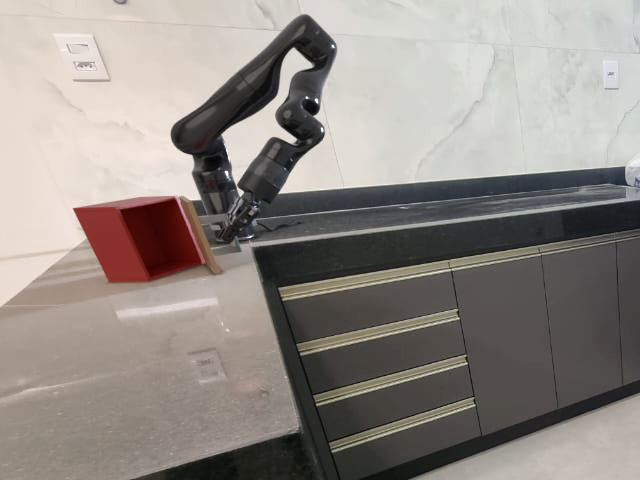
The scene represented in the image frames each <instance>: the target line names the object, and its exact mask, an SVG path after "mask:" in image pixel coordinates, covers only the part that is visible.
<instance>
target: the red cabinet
mask: <svg viewBox="0 0 640 480" xmlns="http://www.w3.org/2000/svg"><path fill="white" fill-rule="evenodd" d="M72 210H73V213H74V214H75V217H76V219H77V221H78V222H79V225H80V226H81V228H82V231H83V232H84V235H85V237H86V238H87V240H88V243H89V245H90V248H91V249H92V251H93V254H94V255H95V257H96V259H97V261H98V263H99V265H100V267H101V269H102V271H103V273H104V275H105V277H106V279H107V281H108V283H138V282H139V283H142V282H144V283H145V282H151V281H155V280H157V279H161V278H164V277H167V276H170V275H173V274H177V273H179V272H183V271H186V270H188V269H192V268H195V267H198V266H201V265H204V264H206V263H205V261H204V258H203V256H202V253H201V251H200V248H199V246H198V244H197V241H196V239H195V236H194V234H193V231H192V229H191V226H190V225H189V221H188V219H187V216H186V214H185V212H184V209H183V207H182V204H181V202H180V199H179V195H157V196H156V195H155V196H154V195H153V196H138V197H130V198H125V199H119V200H113V201H108V202H101V203H95V204H89V205H83V206H77V207H76V206H75V207H72Z"/></svg>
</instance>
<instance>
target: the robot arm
mask: <svg viewBox="0 0 640 480" xmlns="http://www.w3.org/2000/svg"><path fill="white" fill-rule="evenodd" d="M293 49H294V50H296V52H297V53H299V54H300V55H301V56H302V57H303V58H304V59H305V60H306V61H307V62H308V63H310V64H311V67H309V68H304V69H301V70H298V71H297V72H296V73H294V74H293V76H292V77H291V78H290V82H289V87H288V93H287V96H286V97H285V100H284V101H283V102H282V104H280V106H278V108H277V109H276V111H275V114H274V116H275V121H276V123H277V124H278V125H279V127H280V128H281V129H283V130H284V131H285V132H287V133H288V134H289V135H291V136H292V137H293V138H295V139H296V140H295V141H294V142H292V143H291V142H289V141H287V140H285V139H282V138H280V137H277V136H272V137H270V138H269V139H268V140H267V141H266V142H265V144H264V146H263V147H262V149H261V150H260V152H259V153H258V154H257V156H256V157H255V158H253V160H252V161H251V162H250V164H249V166H248V167H247V169H245V171H244V173H243V174H242V175H241V178H240V179H239V180H238V181H237V183H236V181H235V179H234V175H233V165H232V160H231V158H230V155H229V151H228V148H227V144H226V142H225V139H224V136H223V135H222V134H224V133H225V132H226V131H227V130H228V129H230V128H232V127H234V125H237V124H238V123H241V122H242V121H245V120H246V119H249V118H250V117H252V116H255V115H256V114H257V113H259V112H261V111H262V110H263V109H264V108H265V107H266V106H268V105H269V104H270V103H271V102H272V101H274V100H275V99H276V97H277V96H278V94H279V91H280V84H281V76H282V68H283V63H284V61H285V59H286V57H287V55H288V54H289V52H291V50H293ZM337 54H338V45H337V42H336V41H335V40H334V38H333V37H332V36H331V35H330V34H329V33H328V32H327V31H326V30H325V29H324V28H323V27H322V26H321V25H320V24H319V23H318V22H317V20H315V19H314V17H312V16H311V15H310V14H307V13H302V14H299V15H297V16H296V17H295V18H293V19H292V20H290V21H289V23H288V24H287V25H286V26H285V27H284V28H283V29H282V30H280V32H279V33H278V34H277V35H276V36H275V38H273V40H272V41H270V43H269V44H268V45H267V46H266V47H265V48H264V49H262V51H260V52H259V53H258V54H256V56H255V57H253V58H252V59H251V60H250V61H249V62H247V63H246V64H244V65H243V66H242V67H241V68H240V69H239V70H238V71H236V72H235V73H234V74H233V75H232V76H231V77H229V79H228V80H226V82H224V84H222V85H220V87H219V88H217V90H216V91H215V92H213V94H212V95H211V96H210V97H209V98H208V99H206V101H204V102H203V103H202V104H201V105H200V106H198V107H197V108H196V109H194V110H192V111H191V112H190V113H187V114H186V115H185V116H184V117H182V118H180V119H179V120H177V121H176V122H174V124H173V125H172V127H171V129H170V133H169V134H170V135H169V137H170V140H171V142H172V144H173V146H174V148H176V149H177V150H178V151H179V152H181V153H183V154H186V155H189V156H191V157H192V159H193V168H192V170H191V177H192V180H193V183H194V185H195V187H196V190H197V192H198V195H199V197H200V200H201V203H202V205H203V208H204V210H205V212H206V215H214V214H221V213H228V215H229V217H230V220H231V221H230V222H229V225H228V226H227V228H226V229H225V227H224V225H223V222H215V223H210V225H209V226H210V229H211V231H213V233H214V236H215V240H216V242H217V243H218V244H231V243H232V241H233V240H234V238H235V237H236V236H237V239H238V242H239V243H240V242H246V241H249V240H250V241H251V240H253V239H255V238H256V237H257V232H256V230H255V227H256V226H258V225H259V226H262V227H263V228H264V229H266V230H267V231H270V232H272V231H274V230H275V229H279V228H287V227H292V226H294V225H295V224H296V223H298V224H300V225H301V224H303V222H302V221H301V220H300V219H297V218H296V219H294V220H292V221H291V222H289V223H283V224H276V225H273V226H271V227H269V226H268V225H267V224H266V223H264V222H262V221H259V220H257V219H256V218H258V216H259V215H261V210H260V209H261V208H260V206H261V204H262V203H263V204H266V205H272V204H273V203H274V201H275V200H276V198H277V197H278V195H279V194H280V192H281V190H282V189H283V187H284V185H285V184H286V183H287V180H288V178H289V176H290V174H291V173H292V172H293V170H294V168H295V167H296V165H297V163H298V162H299V161H300V160H301V159H302V158H303V157H305V155H306V154H308V153H309V152H310V151H311V150H312V149H314V148H315V147H316V146H318V145H319V144H320V143H321V142H323V140H324V139H325V137H326V128H325V126H324V124H323V123H322V122H321V121H320V120H319V119H317V118H316V117H315V116H316V115H318V114H319V112H320V111H321V106H322V98H323V91H324V87H325V84H326V82H327V79H328V77H329V76H330V73H331V71H332V68H333V65H334V63H335V61H336V58H337ZM239 190H241V191H242V192H243V194H241V196H240V193H239ZM230 225H231V226H230Z"/></svg>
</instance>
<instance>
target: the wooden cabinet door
mask: <svg viewBox="0 0 640 480" xmlns="http://www.w3.org/2000/svg"><path fill="white" fill-rule="evenodd" d="M178 198H179V200H180V203H181V205H182V207H183V210H184V212H185V215H186V217H187V220H188V222H189V224H190V227H191V230H192V232H193V235H194V237H195V239H196V242H197V244H198V247H199V249H200V252H201V254H202V257H203V259H204V262H205V263H204V264H206V265H207V267H208V268H209V269H210V270H211V271H212V272H213V273H214V274H215V275H218V274H221V271H220V268H219V266H218V263H217V261H216V258H215V257H219V256H225V255H231V254H238V253H241V252H243V250H242V248H241V245H240V242H238V239H237V236H236V237H235V238H234V240H233V241H232V243H230V245H225V246H219V247H212V248H211V245H210V243H209V241H208V238H207V235H206V233H205V230H204V228H203V225H207V224H211V223H215V222H223V225H224V227H225V229H226V228H227V226H228V225H229V222H230V221H231V220H230V217H229V215H228V213H221V214H214V215H207V214H206V215H198V213H197V210H196V208H195V205H194V202H193V201H192V200H190V199H189V198H187V197H186V196H184V195H178ZM230 226H231V225H230Z"/></svg>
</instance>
